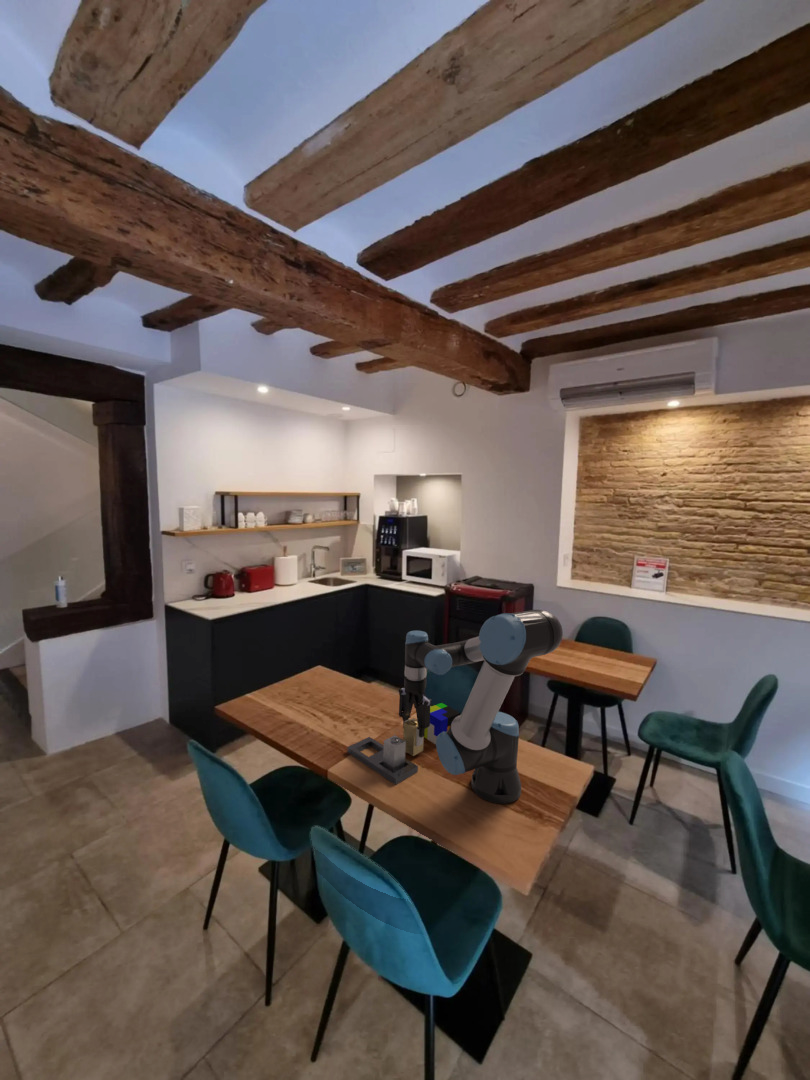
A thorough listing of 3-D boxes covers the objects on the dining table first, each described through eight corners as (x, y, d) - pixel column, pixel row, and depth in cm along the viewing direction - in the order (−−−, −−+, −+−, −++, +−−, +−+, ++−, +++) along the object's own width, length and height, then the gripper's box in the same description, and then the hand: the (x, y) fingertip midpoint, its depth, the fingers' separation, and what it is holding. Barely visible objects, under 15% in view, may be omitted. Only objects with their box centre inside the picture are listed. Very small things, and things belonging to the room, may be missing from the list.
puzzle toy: (439, 747, 162) (441, 720, 161) (421, 735, 170) (422, 709, 169) (459, 738, 169) (460, 712, 168) (440, 727, 176) (441, 702, 175)
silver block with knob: (404, 770, 148) (405, 739, 147) (393, 776, 144) (394, 745, 143) (393, 763, 151) (394, 733, 150) (382, 769, 148) (383, 739, 147)
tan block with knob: (423, 750, 157) (424, 721, 156) (413, 756, 153) (414, 726, 152) (412, 744, 160) (413, 716, 159) (402, 750, 157) (403, 721, 156)
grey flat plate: (417, 771, 147) (417, 765, 147) (395, 785, 140) (395, 778, 140) (369, 741, 164) (369, 736, 164) (347, 752, 157) (347, 746, 157)
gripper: (442, 681, 151) (440, 748, 153) (404, 666, 163) (402, 727, 166) (427, 688, 145) (425, 756, 148) (389, 671, 158) (387, 735, 160)
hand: (413, 741), depth 157 cm, fingers closed on tan block with knob, 5 cm apart
